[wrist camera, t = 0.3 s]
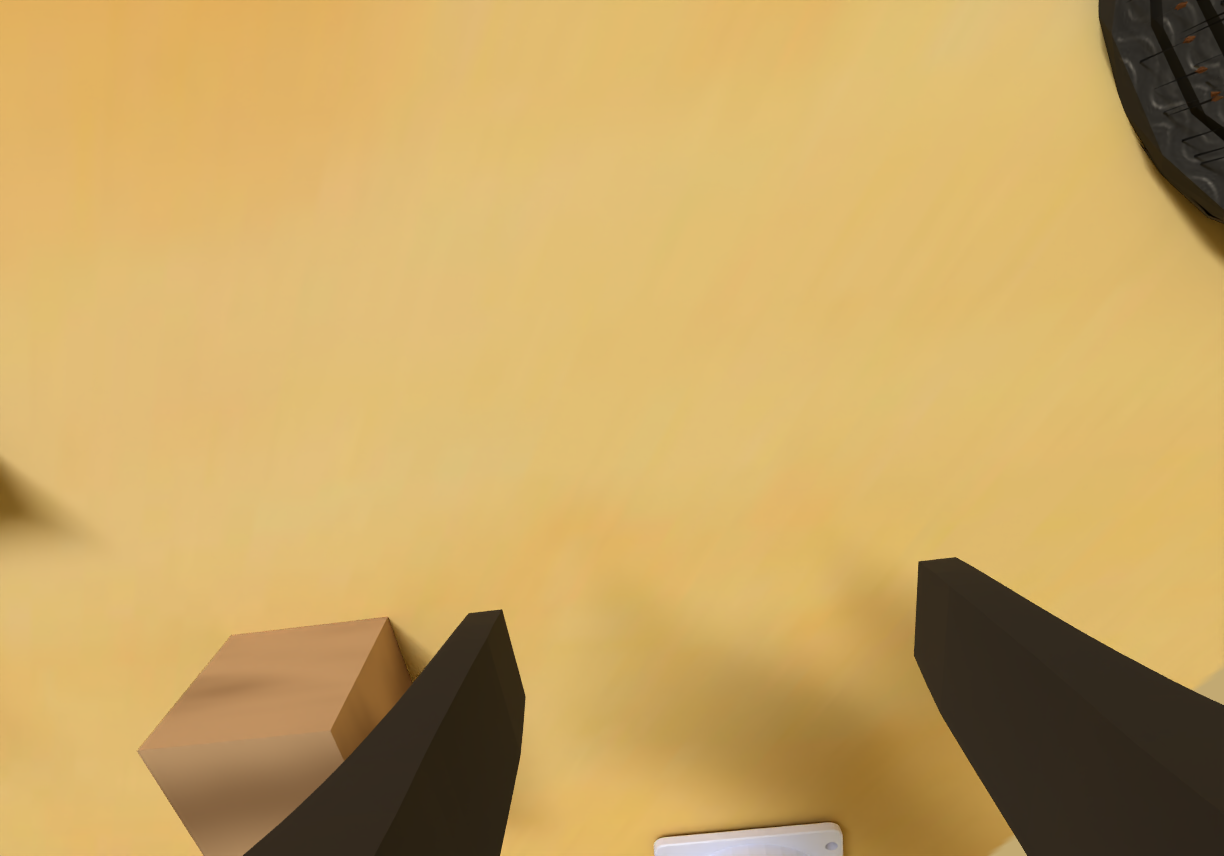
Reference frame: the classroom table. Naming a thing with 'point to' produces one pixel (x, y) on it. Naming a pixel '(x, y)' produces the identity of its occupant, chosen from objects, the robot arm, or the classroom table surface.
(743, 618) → the classroom table surface
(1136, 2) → the hairbrush
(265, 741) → the walnut block
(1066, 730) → the robot arm
